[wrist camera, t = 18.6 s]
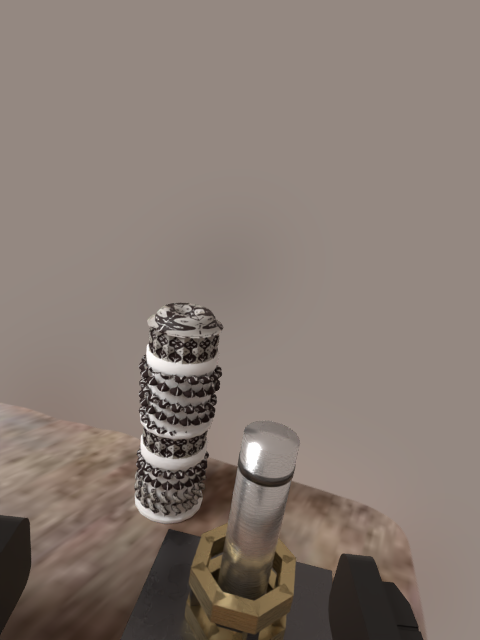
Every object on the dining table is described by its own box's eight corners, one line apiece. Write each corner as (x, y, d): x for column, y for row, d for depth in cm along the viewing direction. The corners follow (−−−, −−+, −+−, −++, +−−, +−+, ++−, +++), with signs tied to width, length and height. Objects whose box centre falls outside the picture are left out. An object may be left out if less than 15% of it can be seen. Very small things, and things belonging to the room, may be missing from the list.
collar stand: (109, 676, 34) (111, 610, 31) (167, 539, 47) (173, 485, 45) (332, 746, 32) (354, 681, 29) (328, 581, 45) (344, 526, 42)
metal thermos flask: (207, 629, 37) (238, 446, 31) (218, 583, 41) (247, 415, 35) (257, 643, 36) (299, 460, 30) (263, 596, 41) (301, 427, 35)
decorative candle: (124, 524, 48) (135, 320, 40) (138, 470, 57) (149, 293, 49) (204, 529, 49) (231, 330, 41) (205, 474, 58) (228, 301, 50)
